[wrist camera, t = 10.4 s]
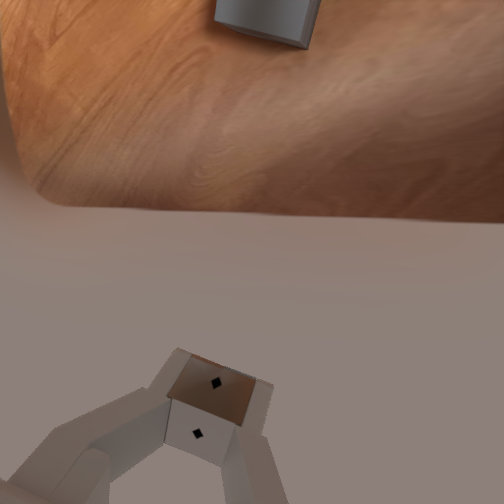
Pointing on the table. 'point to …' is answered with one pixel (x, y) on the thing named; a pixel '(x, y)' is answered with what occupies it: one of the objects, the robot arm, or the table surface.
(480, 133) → the table surface
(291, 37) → the charcoal block
